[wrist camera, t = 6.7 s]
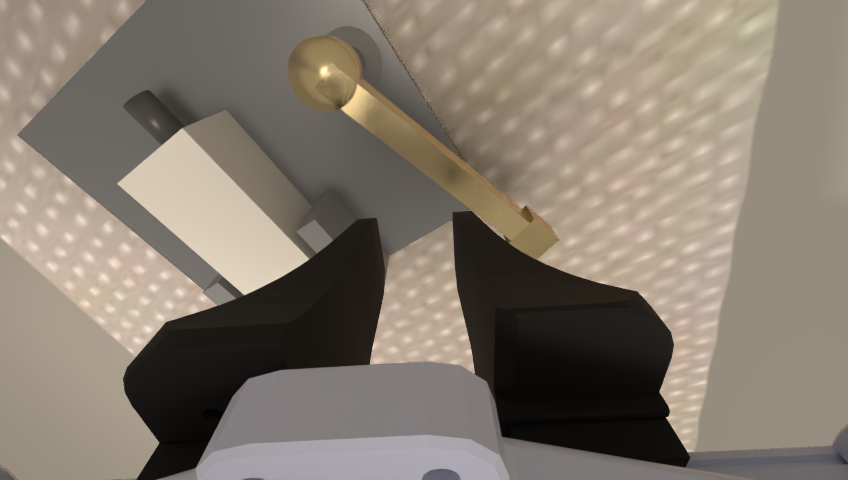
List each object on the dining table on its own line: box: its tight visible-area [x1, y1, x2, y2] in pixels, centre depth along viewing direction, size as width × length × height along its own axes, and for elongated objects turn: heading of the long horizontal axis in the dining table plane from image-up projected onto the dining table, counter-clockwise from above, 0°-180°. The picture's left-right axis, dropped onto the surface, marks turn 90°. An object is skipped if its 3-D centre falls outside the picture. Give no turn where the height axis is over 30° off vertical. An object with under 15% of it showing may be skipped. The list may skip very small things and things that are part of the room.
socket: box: [18, 0, 470, 305], centre depth 19 cm, size 17×19×5 cm
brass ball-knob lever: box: [288, 36, 559, 260], centre depth 15 cm, size 2×13×1 cm, turn 51°
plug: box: [117, 90, 317, 295], centre depth 19 cm, size 11×4×4 cm, turn 33°
